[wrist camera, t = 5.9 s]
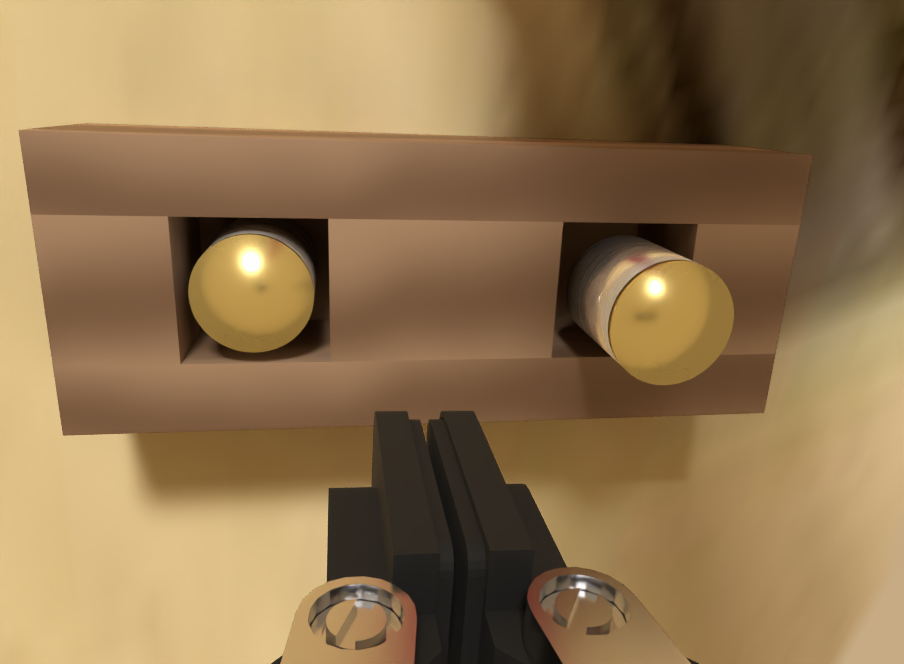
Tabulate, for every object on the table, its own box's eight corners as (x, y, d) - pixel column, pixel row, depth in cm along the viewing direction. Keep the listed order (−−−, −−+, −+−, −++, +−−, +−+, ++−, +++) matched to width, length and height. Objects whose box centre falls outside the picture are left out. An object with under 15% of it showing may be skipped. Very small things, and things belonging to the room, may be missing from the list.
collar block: (86, 123, 26) (18, 130, 21) (725, 144, 31) (813, 155, 25) (115, 371, 30) (63, 435, 24) (692, 360, 34) (764, 413, 28)
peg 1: (207, 212, 26) (183, 234, 22) (316, 214, 27) (312, 235, 23) (215, 314, 28) (193, 353, 23) (318, 313, 28) (315, 351, 24)
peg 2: (571, 233, 25) (619, 261, 21) (676, 235, 26) (743, 262, 21) (561, 340, 26) (605, 386, 22) (662, 339, 27) (723, 383, 23)
